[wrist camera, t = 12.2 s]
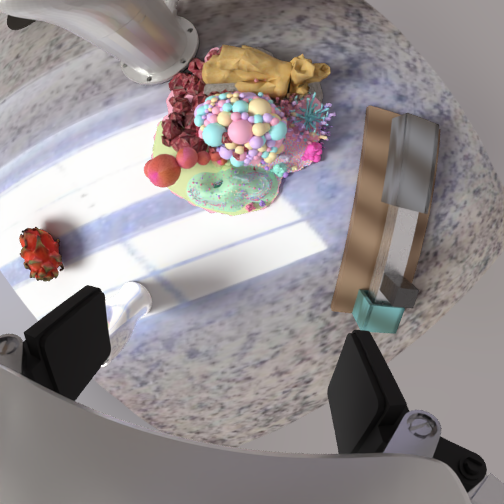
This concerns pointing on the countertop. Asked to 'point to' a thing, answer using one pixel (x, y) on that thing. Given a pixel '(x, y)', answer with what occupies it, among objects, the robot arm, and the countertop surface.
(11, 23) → the plate
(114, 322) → the beer glass
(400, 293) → the inner tube
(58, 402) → the robot arm
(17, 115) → the countertop surface
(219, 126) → the candy landscape model
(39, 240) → the dragon fruit
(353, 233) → the tube rig
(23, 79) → the countertop surface
